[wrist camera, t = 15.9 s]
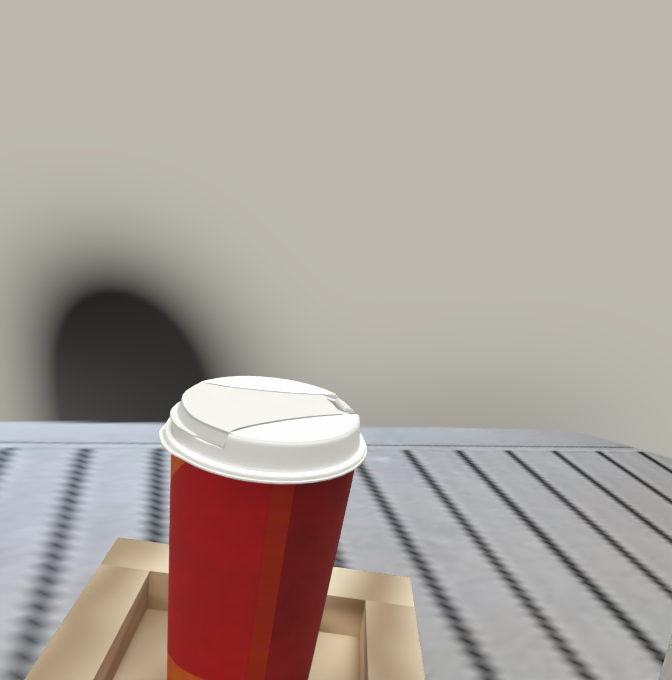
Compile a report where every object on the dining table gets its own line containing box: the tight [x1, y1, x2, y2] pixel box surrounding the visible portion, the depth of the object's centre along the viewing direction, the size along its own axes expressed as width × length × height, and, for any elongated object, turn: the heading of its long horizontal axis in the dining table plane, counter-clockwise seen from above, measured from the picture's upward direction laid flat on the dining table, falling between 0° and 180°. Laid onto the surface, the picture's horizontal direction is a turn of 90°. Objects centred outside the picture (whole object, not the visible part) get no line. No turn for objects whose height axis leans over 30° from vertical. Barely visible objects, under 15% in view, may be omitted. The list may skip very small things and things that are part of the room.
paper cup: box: [159, 376, 367, 680], centre depth 26 cm, size 8×8×14 cm
